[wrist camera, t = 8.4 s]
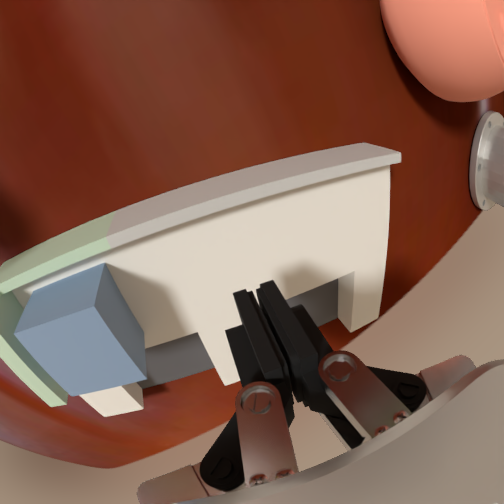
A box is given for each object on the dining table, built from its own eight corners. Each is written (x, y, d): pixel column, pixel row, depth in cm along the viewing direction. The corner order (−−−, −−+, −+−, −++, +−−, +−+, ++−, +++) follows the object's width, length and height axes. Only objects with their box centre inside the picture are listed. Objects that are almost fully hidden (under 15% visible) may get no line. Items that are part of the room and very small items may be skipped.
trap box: (363, 142, 17) (426, 160, 12) (362, 301, 24) (398, 339, 19) (3, 262, 12) (-32, 315, 7) (104, 394, 20) (105, 446, 15)
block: (104, 262, 12) (94, 306, 9) (144, 332, 15) (147, 379, 12) (33, 290, 11) (13, 333, 8) (77, 352, 14) (71, 396, 11)
